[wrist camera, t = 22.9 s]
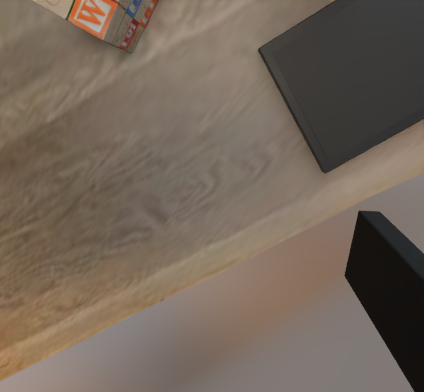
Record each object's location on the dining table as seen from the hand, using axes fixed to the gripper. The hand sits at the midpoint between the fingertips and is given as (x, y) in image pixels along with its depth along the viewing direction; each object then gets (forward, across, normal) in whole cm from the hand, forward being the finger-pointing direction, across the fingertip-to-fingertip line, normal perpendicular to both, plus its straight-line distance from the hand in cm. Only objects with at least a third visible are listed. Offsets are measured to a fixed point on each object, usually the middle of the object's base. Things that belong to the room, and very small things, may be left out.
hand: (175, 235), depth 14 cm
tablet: (+32, +20, +6) cm, 38 cm away
